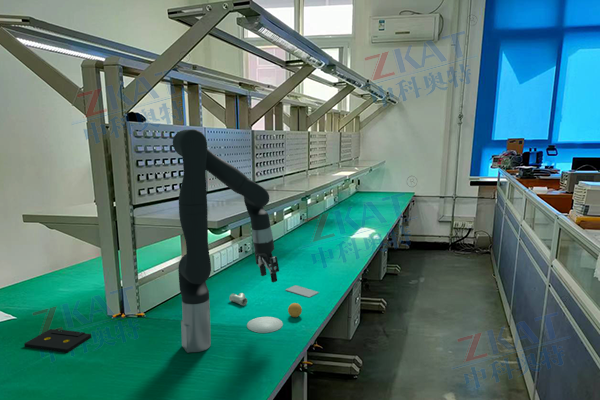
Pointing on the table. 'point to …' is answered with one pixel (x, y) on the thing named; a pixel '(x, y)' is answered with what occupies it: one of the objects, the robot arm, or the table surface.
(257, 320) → the disc
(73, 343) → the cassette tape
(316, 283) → the table surface
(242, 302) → the pipe fitting
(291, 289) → the smartphone
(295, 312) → the ball
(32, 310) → the table surface
